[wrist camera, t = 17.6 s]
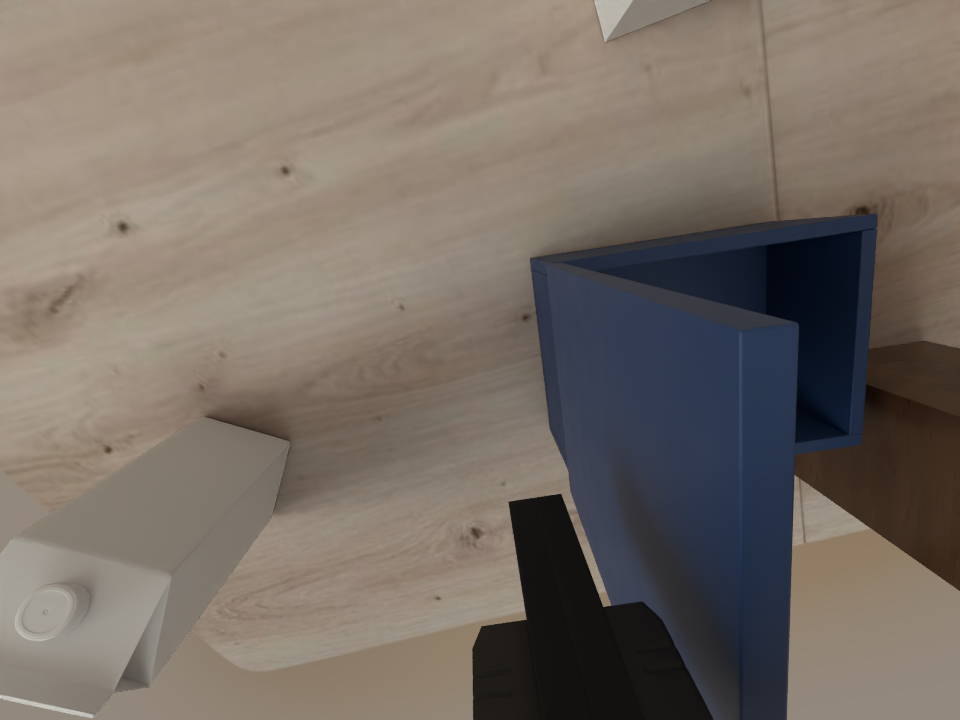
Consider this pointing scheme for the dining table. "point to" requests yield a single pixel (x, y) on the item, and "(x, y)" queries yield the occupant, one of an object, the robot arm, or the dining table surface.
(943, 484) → the stand
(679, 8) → the white double channel rack
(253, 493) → the milk carton
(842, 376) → the box
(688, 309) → the lid
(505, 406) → the dining table surface
